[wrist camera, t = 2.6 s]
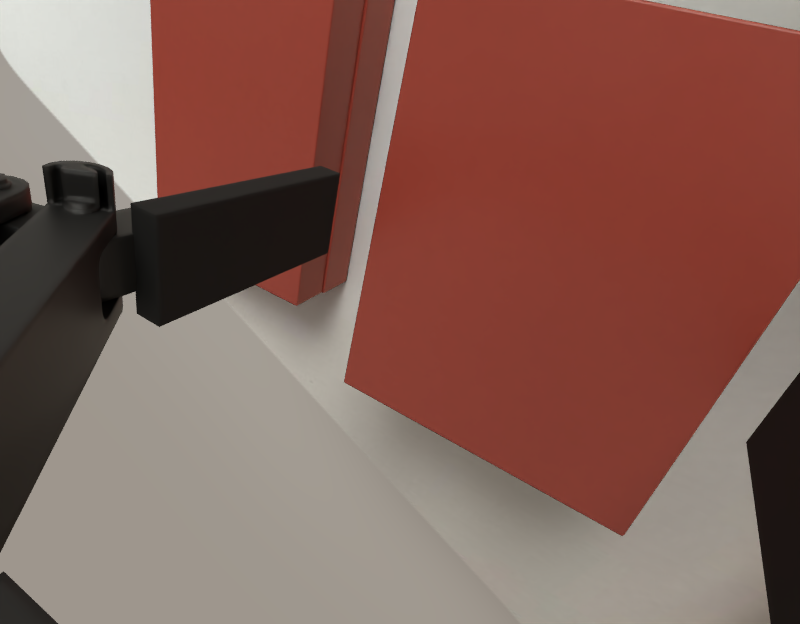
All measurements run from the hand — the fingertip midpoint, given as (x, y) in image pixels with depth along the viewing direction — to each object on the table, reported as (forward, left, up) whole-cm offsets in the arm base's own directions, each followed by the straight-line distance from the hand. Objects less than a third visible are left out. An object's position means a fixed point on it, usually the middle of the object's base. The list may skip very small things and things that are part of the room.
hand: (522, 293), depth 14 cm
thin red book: (0, 0, -3) cm, 3 cm away
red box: (0, -15, -8) cm, 17 cm away
